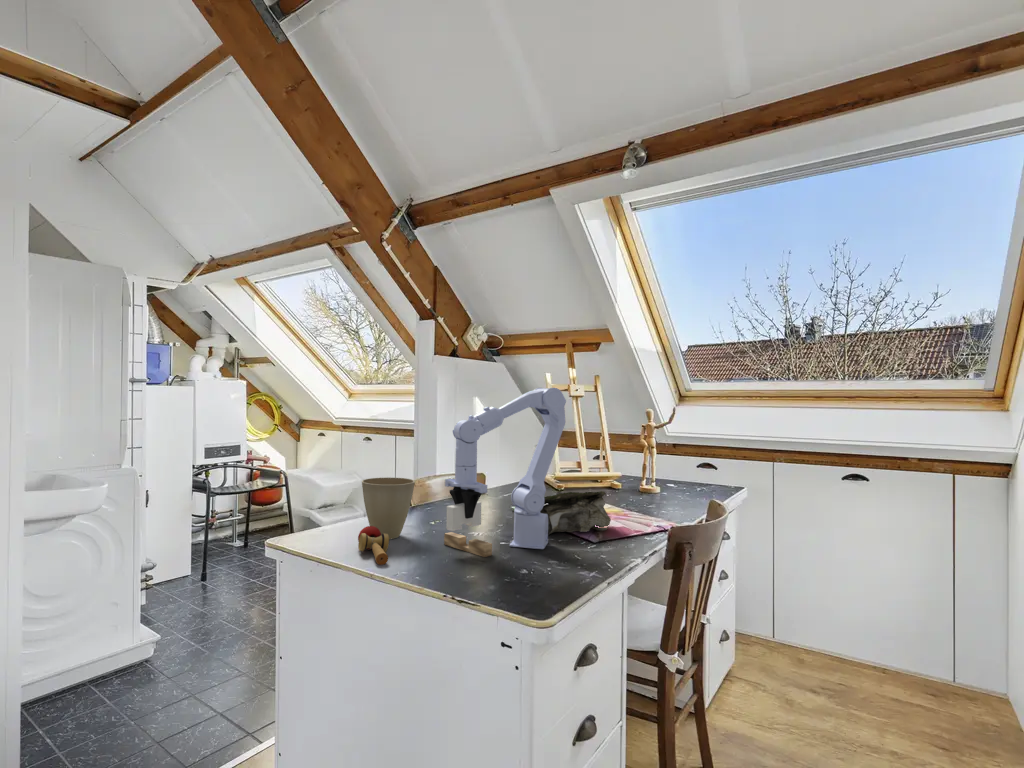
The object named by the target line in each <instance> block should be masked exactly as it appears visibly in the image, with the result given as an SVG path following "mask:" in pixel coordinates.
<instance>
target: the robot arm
mask: <svg viewBox="0 0 1024 768" xmlns="http://www.w3.org/2000/svg"><path fill="white" fill-rule="evenodd" d="M566 403H567V399H566V397H565V396H564V394H563V392H562V391H561V389H559V388H557V387H550V388H549V387H546V388H543V387H536V388H534V389H533V390H530V391H527V392H524V393H523V394H521V395H520V396H517V397H516V398H514V399H513V400H510V401H509V402H507V403H505V404H504V405H502V406H499V407H498V408H497V407H494V406H485V407H483V410H482V411H480V412H478V413H476V414H475V415H473V414H470V415H468V417H467V418H468V420H467V419H461V420H458V422H457V423H456V425H454V428H453V430H452V435H453V437H454V438H455V460H454V461H455V463H454V464H455V465H454V469H455V470H454V478H445V482H444V483H445V484H444V487H450V488H452V489H449V495H450V496H451V498H452V500H453V503H454V505H456V504H461V503H464V507H465V518H467V519H468V518H473V514H474V510H475V507H476V504H477V502H479V499H480V497H481V496H482V495H483V494H486V493H488V484H484V483H482V482H478V481H477V479H478V478H477V476H478V475H477V473H478V469H477V468H478V440H479V439H480V437H481V436H483V435H485V434H487V433H489V432H491V431H493V430H495V429H497V428H499V427H501V426H502V425H503V423H504V419H507V418H509V417H511V416H513V415H516V414H517V413H519V412H521V411H524V410H526V409H528V408H529V409H530V408H534V409H535V411H536V412H537V413H538V414H539V415H540V416H541V418H542V420H543V421H544V425H543V429H542V430H541V433H540V436H539V439H538V441H537V444H536V447H535V450H534V452H533V454H532V457H531V459H530V460H531V461H530V463H529V464H528V465H529V466H528V469H527V471H526V473H525V475H524V476H523V477H522V478H521V479H520V480H519V481H518V484H517V486H516V487H514V489H513V490H512V492H511V495H510V500H511V503H512V505H514V511H513V512H514V513H513V516H514V517H513V540H512V541H511V542H510V543H509V547H511V548H525V549H535V550H544V549H545V548H546V546H547V545H548V543H549V535H548V515H547V514H543V513H540V511H541V510H542V508H543V506H544V505H545V504H544V502H545V501H544V497H545V494H546V491H547V488H546V485H545V480H546V477H547V475H548V471H549V468H550V466H551V464H552V462H553V458H554V455H555V452H556V449H557V447H558V444H559V441H560V440H561V436H562V434H563V431H564V429H565V426H566V410H565V406H566Z"/></svg>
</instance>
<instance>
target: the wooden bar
mask: <svg viewBox="0 0 1024 768" xmlns="http://www.w3.org/2000/svg"><path fill="white" fill-rule="evenodd" d="M443 539H444V540H443V545H444V546H447V547H449V548H450V547H451V548H454V549H457V550H460V551H462V552H467V553H471V554H473V555H477V556H480V557H482V558H486V557H487V558H488V557H491V556H493V543H491V542H487V541H484V540H481V539H477V538H473V539H470V540H468V543H467V536H466V535H463V534H459V533H456V532H454V531H449V532H445V533H444V536H443Z"/></svg>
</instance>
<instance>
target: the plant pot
mask: <svg viewBox="0 0 1024 768" xmlns="http://www.w3.org/2000/svg"><path fill="white" fill-rule="evenodd" d="M415 482H416V481H415V480H414V479H412V478H407V477H406V478H405V477H391V476H390V477H388V476H387V477H371V478H366V479H362V480H361V485H362V486H361V487H362V488H361V489H362V497H363V503H364V509H365V513H366V517H367V521H368V526H374V527H376V528H378V529H379V530H380V532H381V535H382V534H388V536H389V540H393V539H397V538H399V537H400V535H401V534H402V530H403V528H404V526H405V523H406V521H407V517H408V514H409V511H410V508H411V504H412V499H413V494H414V489H415Z"/></svg>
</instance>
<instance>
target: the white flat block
mask: <svg viewBox="0 0 1024 768" xmlns="http://www.w3.org/2000/svg"><path fill="white" fill-rule="evenodd" d="M445 524H446V525H445V526H446V529H445V530H448V531H449V532H455V531H459V530H463V525H466V526H468V527H476V526H481V525H482V501H478V502H477V504H476V507H475V510H474V514H473V518H468V519H467V518H465V507H464V503H461V504H456V505H455V504H452V505H446V523H445Z"/></svg>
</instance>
